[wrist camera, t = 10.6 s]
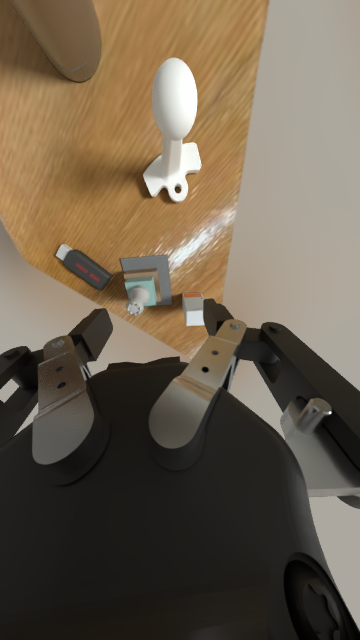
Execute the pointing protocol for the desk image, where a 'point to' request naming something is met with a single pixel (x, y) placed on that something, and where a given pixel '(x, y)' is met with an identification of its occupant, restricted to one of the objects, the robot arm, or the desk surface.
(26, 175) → the desk surface
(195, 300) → the skincare box
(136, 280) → the teal block
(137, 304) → the rook chess piece
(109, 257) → the desk surface
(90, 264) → the usb drive
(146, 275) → the walnut block
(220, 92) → the desk surface
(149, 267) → the mat
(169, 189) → the white ball-topped post
